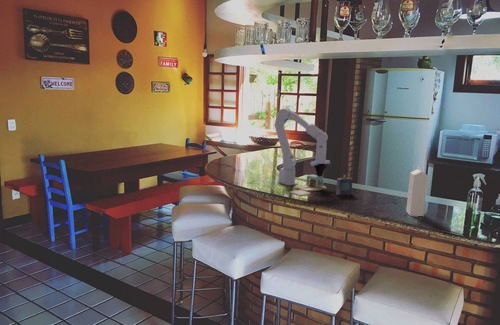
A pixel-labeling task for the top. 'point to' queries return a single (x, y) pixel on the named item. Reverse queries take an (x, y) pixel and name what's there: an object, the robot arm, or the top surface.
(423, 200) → the milk
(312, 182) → the block
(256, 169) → the top surface
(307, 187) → the board
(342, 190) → the flask
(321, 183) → the cover
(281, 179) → the robot arm
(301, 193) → the pad
